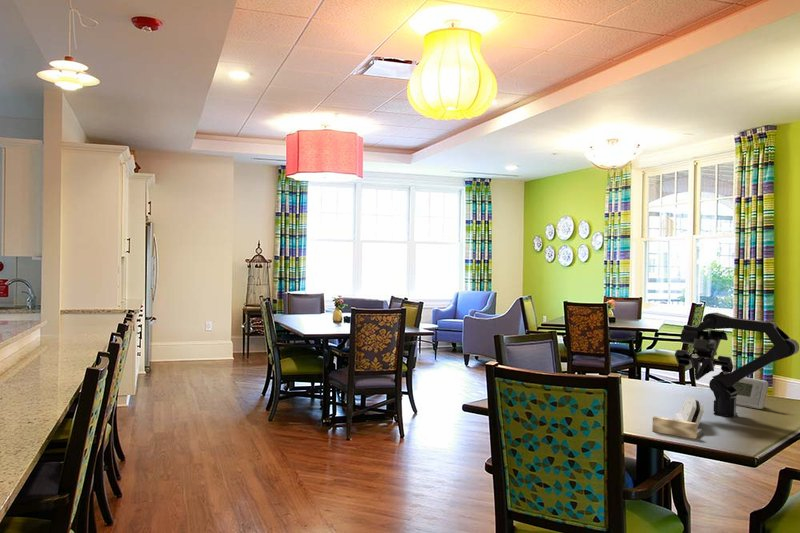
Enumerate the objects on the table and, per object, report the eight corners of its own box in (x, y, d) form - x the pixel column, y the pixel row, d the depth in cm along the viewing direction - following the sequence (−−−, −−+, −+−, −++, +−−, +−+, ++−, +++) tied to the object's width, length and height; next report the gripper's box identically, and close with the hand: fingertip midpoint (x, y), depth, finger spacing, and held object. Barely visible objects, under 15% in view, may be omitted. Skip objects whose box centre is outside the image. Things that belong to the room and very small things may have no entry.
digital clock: (719, 401, 260) (719, 374, 260) (735, 400, 264) (736, 373, 264) (755, 411, 245) (756, 382, 245) (772, 409, 249) (773, 381, 249)
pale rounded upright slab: (673, 417, 233) (684, 391, 232) (687, 423, 231) (698, 397, 230) (679, 429, 217) (691, 401, 215) (694, 435, 215) (706, 407, 214)
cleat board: (702, 433, 212) (702, 419, 212) (695, 438, 206) (695, 424, 206) (659, 426, 220) (660, 412, 220) (652, 431, 214) (652, 417, 214)
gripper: (678, 327, 242) (664, 360, 235) (732, 334, 229) (719, 369, 222) (685, 347, 248) (671, 379, 241) (738, 354, 236) (726, 389, 228)
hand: (696, 379), depth 233 cm, fingers closed
